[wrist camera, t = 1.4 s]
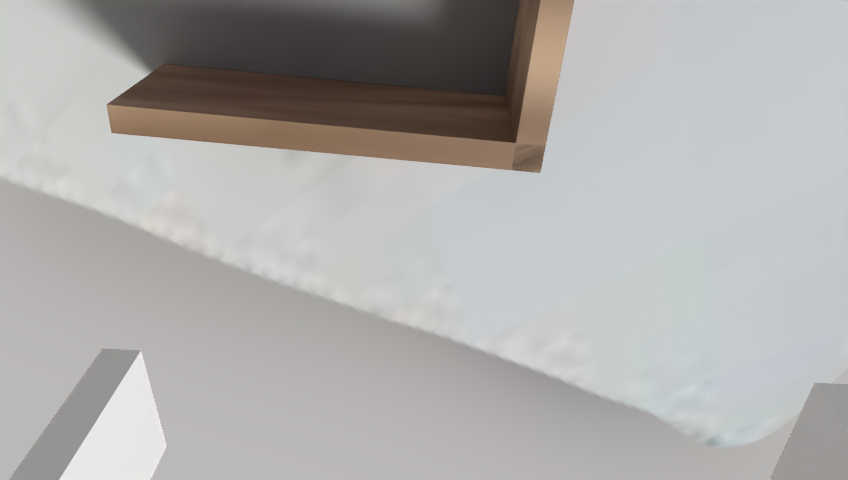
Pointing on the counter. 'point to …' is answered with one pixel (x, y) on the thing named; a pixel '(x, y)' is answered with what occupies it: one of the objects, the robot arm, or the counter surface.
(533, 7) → the walnut bay
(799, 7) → the counter surface
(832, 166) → the counter surface
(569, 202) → the counter surface
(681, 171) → the counter surface
